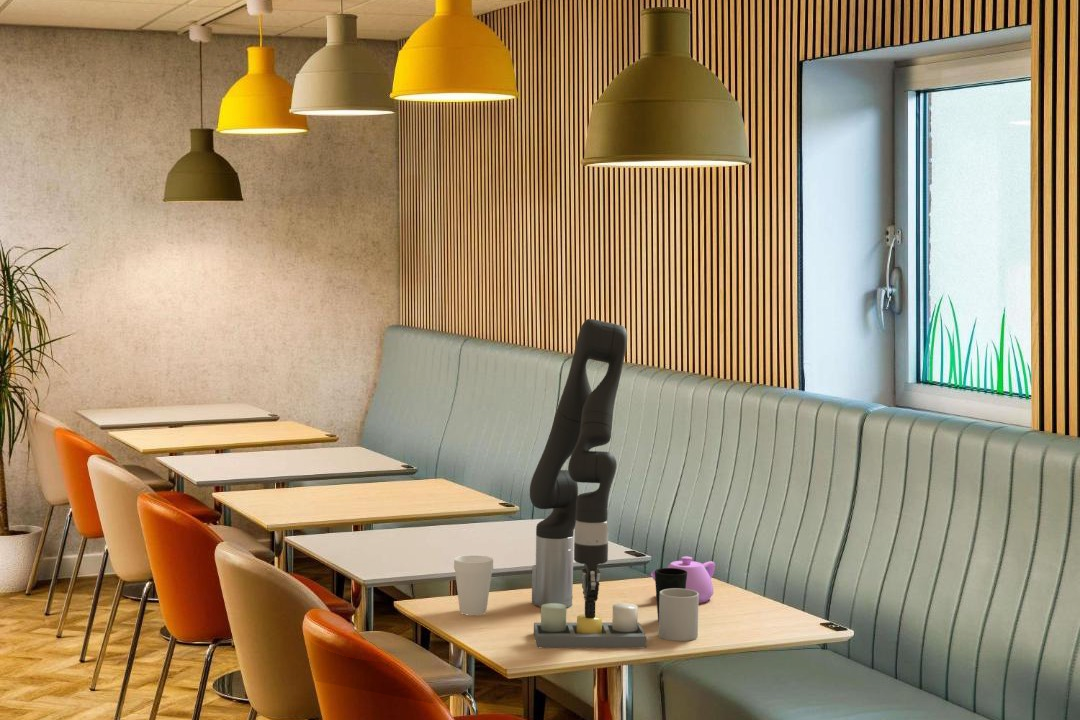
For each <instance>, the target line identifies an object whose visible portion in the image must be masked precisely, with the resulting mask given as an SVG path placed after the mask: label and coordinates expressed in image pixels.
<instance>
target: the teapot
mask: <svg viewBox="0 0 1080 720" xmlns="http://www.w3.org/2000/svg"><path fill="white" fill-rule="evenodd" d="M680 559H681V560H675V561H672V562H670V563H669V565H668V566H667V567H666V568H677V569H682V570H685V571H687V581H686V589H689V590H694V591H696V592H698V593H699V604H703V603H707V602H708V601H709V600H710V599H711V598H712V596H713V595H714V584H713V580H712V578H713V575H714V573H715V569H716V564H715V562H714V561H711V560H710V561H709V560H708V561H706V562H704V563H701V562H699V561H693V557H692V556H687V555H686V556H681V558H680ZM706 568H707V569H706ZM650 577H651V578H652V579H653V580H654V581H655V570H653V571H652V572H651V573H650Z"/></svg>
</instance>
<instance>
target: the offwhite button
mask: <svg viewBox="0 0 1080 720" xmlns="http://www.w3.org/2000/svg"><path fill="white" fill-rule="evenodd" d="M638 612H639V606H638V605H637V604H632V603H627V602H626V603H615V604H612V629H613V630H616V631H621V632H632V631H636V630H637V625H638V621H639V620H638V619H639V613H638Z"/></svg>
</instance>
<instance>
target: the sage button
mask: <svg viewBox="0 0 1080 720" xmlns="http://www.w3.org/2000/svg"><path fill="white" fill-rule="evenodd" d="M540 609H541V610H540V613H541V615H540V623H541V629H542V630H544V631H549V632H560V631H564V630H566V623H567V607H566V605H563V604H557V603H549V604H543V605H542V606H541V607H540Z"/></svg>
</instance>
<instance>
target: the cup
mask: <svg viewBox="0 0 1080 720" xmlns="http://www.w3.org/2000/svg"><path fill="white" fill-rule="evenodd" d="M654 571H655V580H654V582H655V596H656V609H657V622H658V623H659V594H660V591H661V590H664V589H671V588H681V589H686V581H687V571H685V570H682V569H677V568H667V567H663V568H662V567H661V568H657V569H655V570H654Z"/></svg>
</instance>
